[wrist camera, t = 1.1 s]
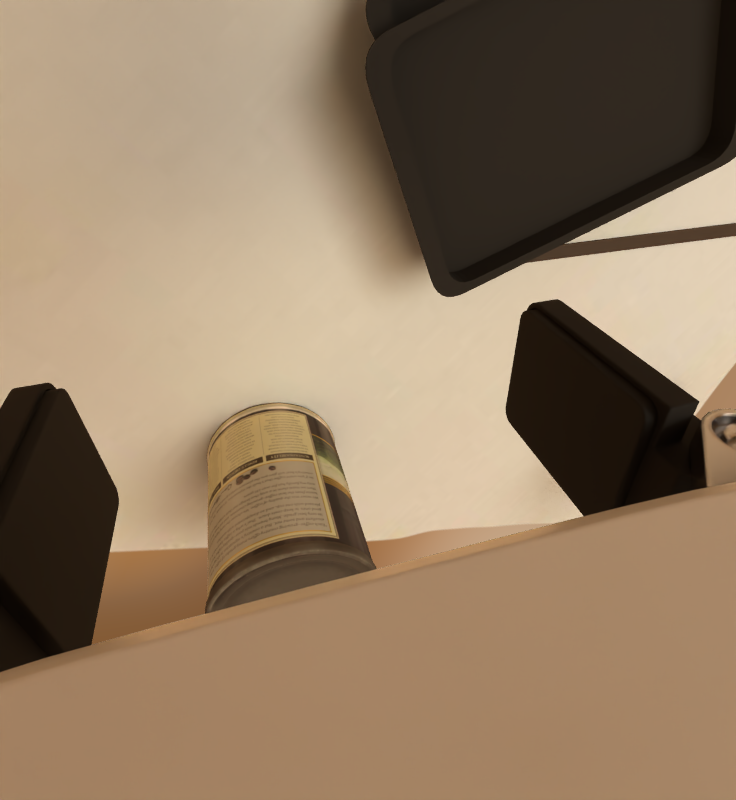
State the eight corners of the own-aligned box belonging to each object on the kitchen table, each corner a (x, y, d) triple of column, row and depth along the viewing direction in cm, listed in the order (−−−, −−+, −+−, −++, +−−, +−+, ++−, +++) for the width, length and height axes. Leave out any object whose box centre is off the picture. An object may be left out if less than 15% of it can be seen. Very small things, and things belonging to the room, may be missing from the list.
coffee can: (358, 426, 40) (414, 569, 29) (295, 509, 44) (325, 664, 33) (243, 381, 35) (259, 535, 24) (183, 480, 39) (173, 653, 28)
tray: (566, -699, 15) (693, -964, 11) (885, -191, 25) (1015, -237, 21) (283, 218, 29) (295, 246, 25) (560, 316, 39) (601, 347, 35)
